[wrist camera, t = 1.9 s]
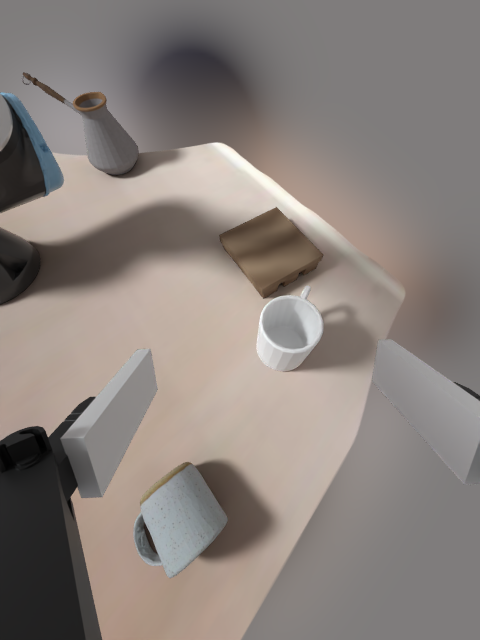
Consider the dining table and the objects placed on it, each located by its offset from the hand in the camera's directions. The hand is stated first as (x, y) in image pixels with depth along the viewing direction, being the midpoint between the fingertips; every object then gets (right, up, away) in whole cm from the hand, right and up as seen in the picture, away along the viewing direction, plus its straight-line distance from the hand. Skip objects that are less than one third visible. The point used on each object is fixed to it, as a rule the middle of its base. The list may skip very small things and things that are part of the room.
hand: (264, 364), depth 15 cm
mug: (+6, 0, +27) cm, 28 cm away
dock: (+4, +15, +34) cm, 37 cm away
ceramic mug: (-9, -22, +17) cm, 29 cm away
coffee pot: (-35, +42, +47) cm, 73 cm away
